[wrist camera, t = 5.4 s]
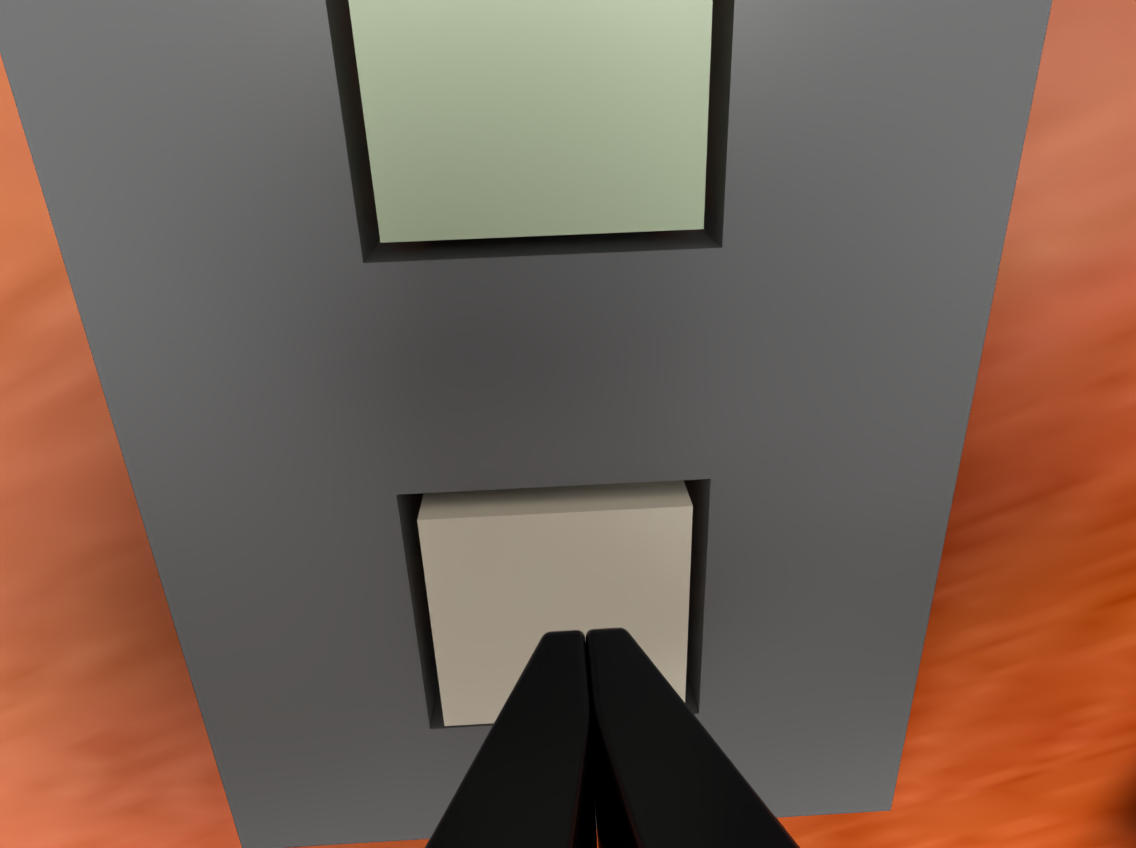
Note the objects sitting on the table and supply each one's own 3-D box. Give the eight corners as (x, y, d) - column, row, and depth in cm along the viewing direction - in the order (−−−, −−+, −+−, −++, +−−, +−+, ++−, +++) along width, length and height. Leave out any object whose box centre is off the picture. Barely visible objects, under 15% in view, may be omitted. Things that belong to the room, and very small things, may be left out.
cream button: (666, 431, 14) (692, 506, 12) (662, 616, 16) (684, 712, 13) (435, 443, 14) (416, 519, 12) (457, 627, 16) (444, 725, 13)
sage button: (678, -117, 10) (719, -163, 8) (671, 195, 12) (703, 229, 10) (371, -108, 10) (328, -151, 8) (408, 206, 12) (380, 242, 10)
